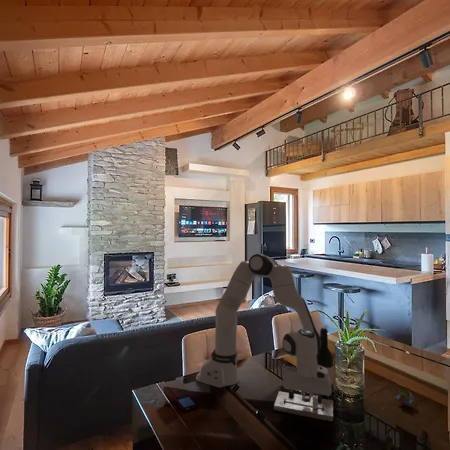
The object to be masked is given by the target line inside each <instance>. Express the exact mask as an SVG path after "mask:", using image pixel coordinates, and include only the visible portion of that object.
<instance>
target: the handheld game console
mask: <svg viewBox="0 0 450 450" xmlns="http://www.w3.org/2000/svg"><path fill="white" fill-rule="evenodd" d="M166 388H167V390H168V391H169V393H170V395H171V397H173V401H174V403H175V404H176V405H177V406H178V407H179V409H180V410H181V412H182V414H186V413H190V412H194V411H196V410H199V408H200V406H199V404H197V402H196V401H195V400H194V399H193V398H192V397H191V395H190V394H185V395H182V396H181V395H180V396H176V395H175V394H174V392H173V391H172V389H171V388H170V387H169V386H167V387H166Z"/></svg>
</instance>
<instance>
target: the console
mask: <svg viewBox="0 0 450 450" xmlns="http://www.w3.org/2000/svg"><path fill="white" fill-rule="evenodd" d="M277 393H278V394H277V395H276V399H275V401H274V405H273V411H276V410H277V411H278V412H281V411H282V413H286V412H287V414H293V415H298V416H301V417H308V418H313V419H318V420H323V421H327V420H328V421H327V422H332V421H333V422H334V400H332V399H328V398H327V399H326V398H322V397H323V395H321V394H315V395H316V396H318V409H315V408H313V396H312V397H311V399H310V403H309V402H303V397H302V395H301V394H298V393H295V390H291V389H288V392H286V391H285V392H284V391H278V392H277ZM308 394H309V392H304V395H305V396H308ZM309 396H310V395H309ZM309 396H308V397H309Z"/></svg>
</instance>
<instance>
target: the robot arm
mask: <svg viewBox="0 0 450 450" xmlns="http://www.w3.org/2000/svg"><path fill="white" fill-rule="evenodd" d="M257 277H259V278H266V279H270V281H271V286H272V287H271V288H272V291H273V297H274V299H275V301H276V302H277V303H278V304H280V305H281V306H284V307H286V308H289V309H291V310H292V311H295V312H296V314H297V315H298V318H299V320H300V323H301V326H302V328H300V329H299V330H297V331H295V332H293V331H292V332H288V333H287V332H286V333H285V334H284V335H283V338H282V343H281V345H282V348H283V351H284V352H285V353H286V354H287V355H290V356H293V357H296V363H295V365H296V366H289V365H286V366H284V367H283V368H282V375H283V381H282V387H283V388H284V389H285V390H293V391H298V392H300V395H302V397H303V402H309V403H310V399H311V397H313V395H314V394H315V395H317V394H319V395H321V396H325V397H326V396H327V397H330V396H331V395H332V394H333V393H332V391H331V381H330V377H329V376H328V369H327V368H325V367H323V366H321V365H319V364H317V352H318V350H319V349H320V347H321V339H320V333H319V332H318V331H317V329H316V326H315V323H314V322H313V318H312V315H311V313H310V310H309V308H308V305H307V302H306V301H305V298H303V297H302V296H301V295H300V293H299V292H298V290H297V288H296V284H295V280H294V276H293V274H292V271H291V268H290V267H289V266H288V265H286V264H278V262H277V260H276V259H274V258H272V257H270V256H268V255H265V254H263V253H256V254H253V255H251V256H250V257H249V260H242V261H241V262H240V263H239V264H238V265H237V267H236V268H235V270H234V272H233V273H232V275H231V277H230V280H229V282H228V285H227V287H226V289H225V291H224V292H223V294H222V296H221V298H220V300H219V301H218V304H217V306H216V308H215V326H214V327H215V331H214V332H215V335H214V337H215V338H214V339H215V340H214V341H215V342H214V343H215V345H214V346H215V348H214V349H213V351H212V352H211V354H210V357H211V358H209V359H208V360H207V361H205V363H203V365H202V366H201V368H200V371H199V372H198V373H197V375H196V376H195V377H196V378H195V381H196V382H200V383H202V384H206V385H209V386H213V387H217V388H223V387H228V386H233V385H235V384H238V383H239V382H240V377H239V372H238V365H237V364H238V352H237V330H238V314H237V313H238V311H239V309H240V307H241V305H242V303H243V302H244V301H245V300H246V298H247V295H248V293H249V291H250V288H251V286H252V284H253V281H254V280H255V278H257ZM304 392H306V393H308V394H309V397H308V396H305V395H304ZM331 393H332V394H331Z"/></svg>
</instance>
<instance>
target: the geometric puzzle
mask: <svg viewBox="0 0 450 450" xmlns="http://www.w3.org/2000/svg"><path fill="white" fill-rule="evenodd" d="M395 394H397V395H395V396H394V399H395V400H396V401H397V402H399V406H400V408H405V406H406V407H408V408H412V405H411V404H413V403H414V401H415V400H416V399H415V397H414V395H413V394H412V393H411V392H410V391H409V389H406V390H405V392H404V391H403V390H399V389H397V393H395ZM403 405H405V406H403Z"/></svg>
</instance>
